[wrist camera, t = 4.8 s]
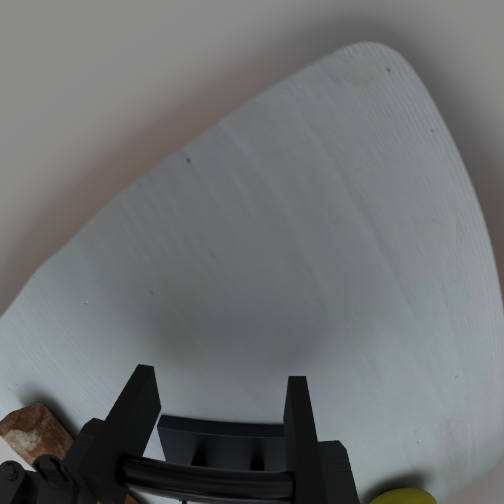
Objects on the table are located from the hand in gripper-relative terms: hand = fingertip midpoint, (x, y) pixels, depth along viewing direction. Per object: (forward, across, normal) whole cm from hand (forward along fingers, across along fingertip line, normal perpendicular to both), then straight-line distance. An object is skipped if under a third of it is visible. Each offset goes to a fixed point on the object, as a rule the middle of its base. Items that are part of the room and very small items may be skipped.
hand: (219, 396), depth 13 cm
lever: (-5, 0, -6) cm, 8 cm away
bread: (+3, -13, -15) cm, 20 cm away
